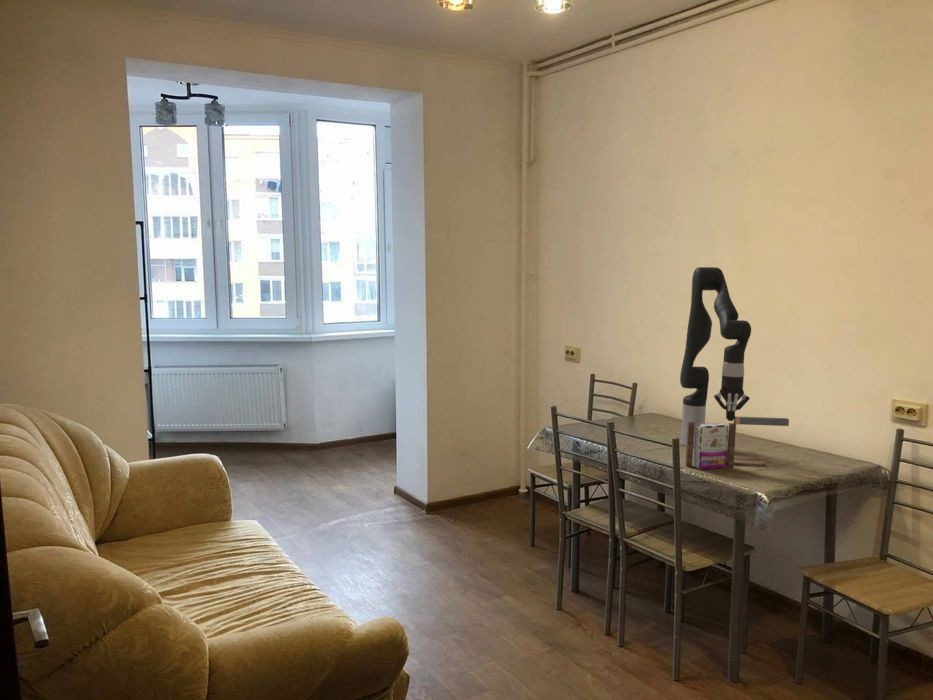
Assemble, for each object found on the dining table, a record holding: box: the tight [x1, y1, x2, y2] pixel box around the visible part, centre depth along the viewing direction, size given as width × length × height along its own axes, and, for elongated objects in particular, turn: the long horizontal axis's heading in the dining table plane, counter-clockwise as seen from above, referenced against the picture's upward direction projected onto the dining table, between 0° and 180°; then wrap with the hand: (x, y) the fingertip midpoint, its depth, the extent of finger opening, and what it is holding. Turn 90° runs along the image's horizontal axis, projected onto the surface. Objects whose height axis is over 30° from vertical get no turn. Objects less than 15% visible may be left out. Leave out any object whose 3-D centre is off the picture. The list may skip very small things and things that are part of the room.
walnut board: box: [726, 454, 767, 467], centre depth 275 cm, size 12×16×1 cm
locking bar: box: [733, 415, 790, 427], centre depth 263 cm, size 2×19×3 cm, turn 85°
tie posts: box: [685, 422, 737, 469], centre depth 265 cm, size 2×17×17 cm, turn 85°
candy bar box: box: [693, 422, 729, 470], centre depth 265 cm, size 11×5×16 cm, turn 101°
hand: (730, 420), depth 264 cm, fingers closed
